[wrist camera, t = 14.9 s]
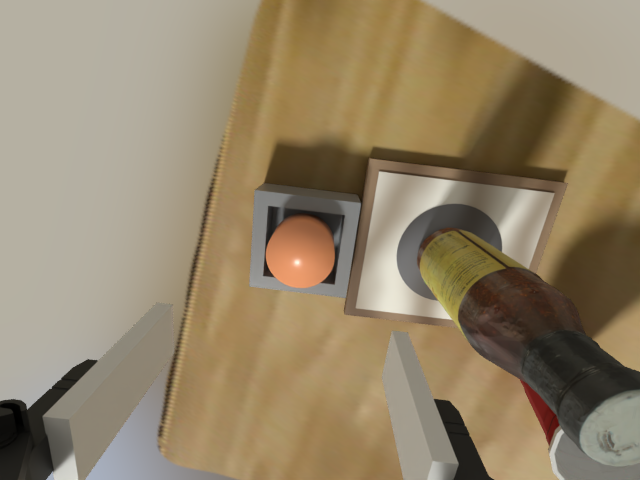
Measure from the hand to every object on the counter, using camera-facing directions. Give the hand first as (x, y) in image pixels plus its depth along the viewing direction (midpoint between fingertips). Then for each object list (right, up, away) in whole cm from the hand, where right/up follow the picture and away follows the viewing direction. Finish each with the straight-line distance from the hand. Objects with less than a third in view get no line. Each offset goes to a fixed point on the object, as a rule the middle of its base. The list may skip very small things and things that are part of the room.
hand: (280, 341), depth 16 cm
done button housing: (0, +6, +17) cm, 18 cm away
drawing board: (+14, +4, +17) cm, 23 cm away
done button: (0, +5, +14) cm, 15 cm away
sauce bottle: (+14, +3, +16) cm, 22 cm away
